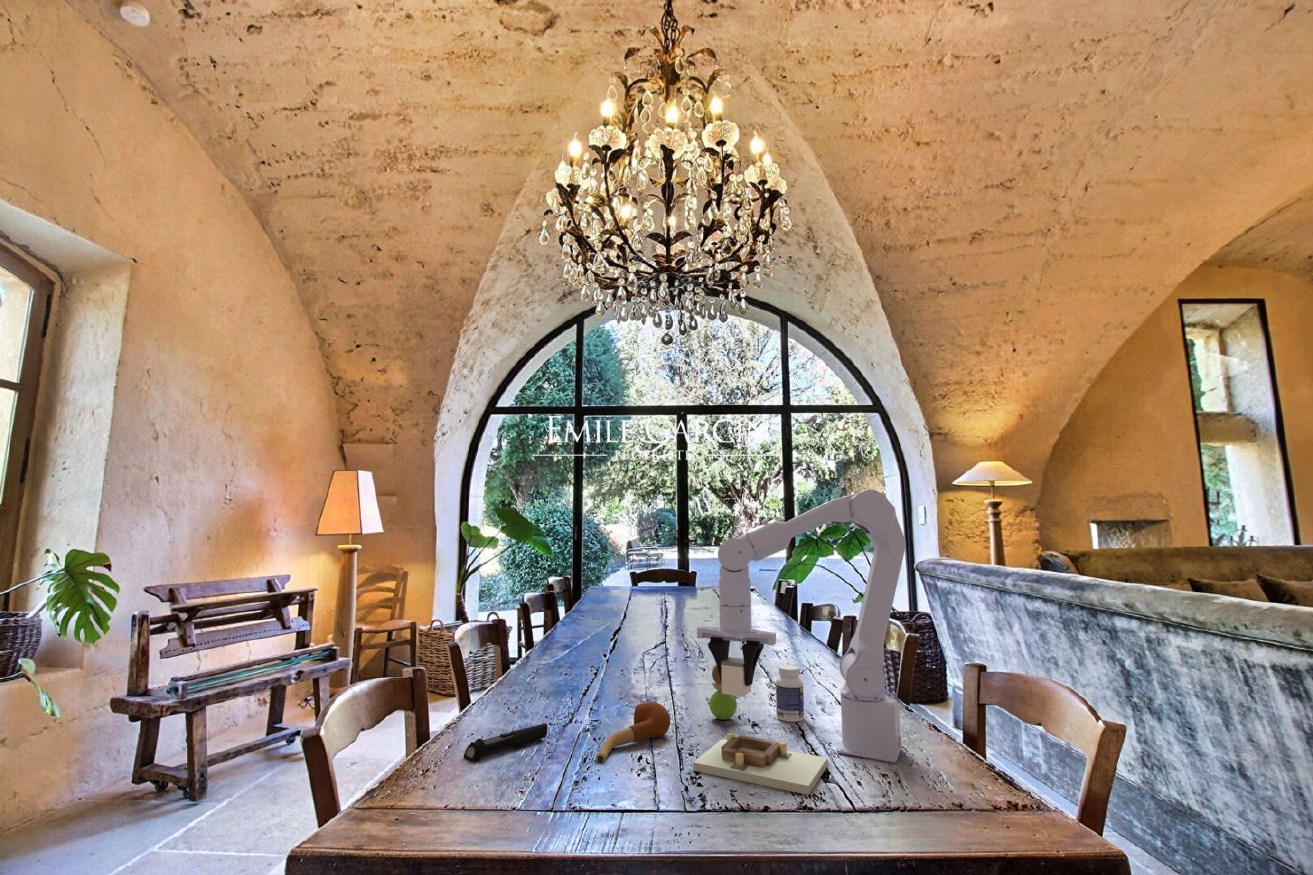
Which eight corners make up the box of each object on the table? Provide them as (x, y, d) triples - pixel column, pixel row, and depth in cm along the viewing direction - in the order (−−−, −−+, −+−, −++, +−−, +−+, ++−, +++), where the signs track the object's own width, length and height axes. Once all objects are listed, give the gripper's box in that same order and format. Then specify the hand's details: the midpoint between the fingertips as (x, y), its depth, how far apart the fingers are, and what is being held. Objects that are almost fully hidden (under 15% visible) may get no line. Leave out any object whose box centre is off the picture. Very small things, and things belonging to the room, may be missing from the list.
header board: (827, 766, 96) (827, 745, 96) (808, 795, 86) (807, 772, 86) (722, 746, 104) (722, 727, 105) (693, 770, 94) (693, 750, 94)
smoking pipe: (676, 734, 111) (676, 701, 112) (626, 770, 95) (627, 731, 96) (642, 728, 114) (642, 696, 115) (588, 761, 98) (589, 724, 99)
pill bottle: (807, 723, 117) (805, 670, 119) (779, 722, 117) (777, 670, 119) (801, 714, 123) (799, 664, 124) (774, 714, 123) (773, 664, 124)
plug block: (751, 691, 109) (750, 659, 109) (743, 696, 105) (742, 663, 106) (730, 688, 111) (729, 657, 111) (721, 693, 107) (721, 661, 108)
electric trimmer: (552, 743, 107) (552, 724, 107) (473, 765, 96) (474, 744, 97) (540, 738, 110) (540, 720, 110) (461, 759, 99) (463, 739, 99)
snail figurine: (732, 726, 115) (731, 660, 117) (704, 719, 119) (703, 656, 121) (746, 719, 119) (745, 656, 121) (718, 713, 123) (718, 652, 125)
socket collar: (782, 752, 99) (782, 742, 99) (767, 769, 92) (766, 758, 92) (736, 743, 102) (736, 734, 102) (718, 759, 95) (718, 749, 96)
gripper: (689, 604, 110) (690, 683, 108) (766, 610, 103) (768, 693, 101) (705, 600, 116) (706, 674, 114) (778, 605, 109) (781, 684, 107)
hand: (736, 683), depth 108 cm, fingers closed on plug block, 4 cm apart
